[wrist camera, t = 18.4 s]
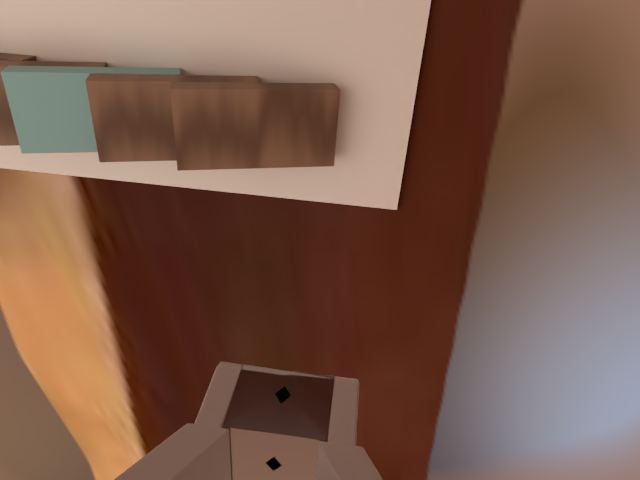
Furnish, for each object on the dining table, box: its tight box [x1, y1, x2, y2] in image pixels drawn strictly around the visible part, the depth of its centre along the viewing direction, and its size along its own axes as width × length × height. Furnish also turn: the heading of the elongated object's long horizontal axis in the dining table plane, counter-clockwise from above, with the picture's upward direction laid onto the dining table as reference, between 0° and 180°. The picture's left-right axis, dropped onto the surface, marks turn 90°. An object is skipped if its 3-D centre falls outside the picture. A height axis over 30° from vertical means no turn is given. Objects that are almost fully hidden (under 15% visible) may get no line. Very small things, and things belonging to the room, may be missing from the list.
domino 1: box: [0, 60, 107, 146], centre depth 32 cm, size 5×2×10 cm
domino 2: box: [85, 74, 260, 162], centre depth 31 cm, size 5×2×10 cm
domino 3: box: [170, 82, 340, 171], centre depth 31 cm, size 5×2×10 cm
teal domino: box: [1, 66, 181, 154], centre depth 32 cm, size 5×2×10 cm
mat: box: [0, 0, 431, 210], centre depth 31 cm, size 24×30×1 cm
